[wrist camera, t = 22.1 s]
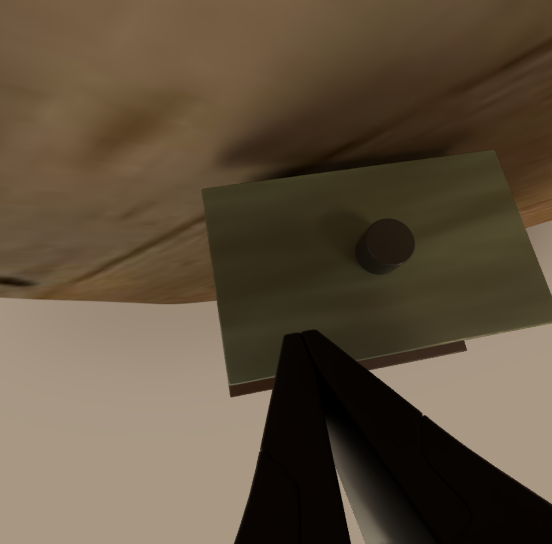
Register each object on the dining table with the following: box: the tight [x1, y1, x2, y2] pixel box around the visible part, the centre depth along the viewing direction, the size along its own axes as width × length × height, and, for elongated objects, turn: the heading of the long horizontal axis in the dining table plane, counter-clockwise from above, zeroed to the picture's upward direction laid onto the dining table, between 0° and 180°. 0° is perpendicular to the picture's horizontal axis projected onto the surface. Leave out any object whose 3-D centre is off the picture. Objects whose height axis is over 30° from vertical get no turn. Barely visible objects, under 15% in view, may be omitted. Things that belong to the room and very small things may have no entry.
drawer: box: [201, 150, 552, 385], centre depth 17 cm, size 13×11×7 cm
